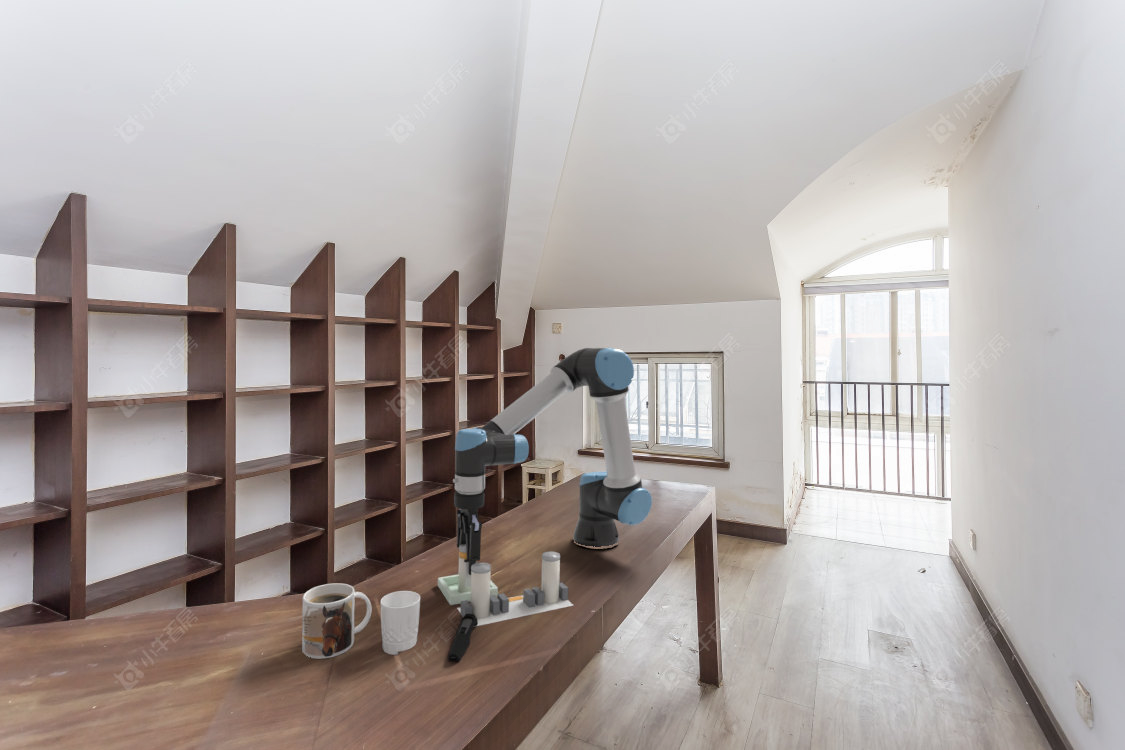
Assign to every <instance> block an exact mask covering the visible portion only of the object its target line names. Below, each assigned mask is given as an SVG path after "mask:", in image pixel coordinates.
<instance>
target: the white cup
mask: <svg viewBox="0 0 1125 750" xmlns="http://www.w3.org/2000/svg"><path fill="white" fill-rule="evenodd" d="M379 601H380V626H381V627H380V628H381V639H382V642H381V643H382V645H381V647H382V650H383V652H384V653H386V654H388V655H391V656H392V655H393V656H398V655H399V652H404V651H407V650H409V649H412V648H413V647H414V646H416V644H417V641H418V632H419V624H420V623H419V622H420V608H421V595H420V594H419V593H418V592H415V591H411V590H400V591H399V590H398V591H393V592H390V593H387V594H386V595H384V596H382V598H381V599H380V600H379Z"/></svg>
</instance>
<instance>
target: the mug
mask: <svg viewBox="0 0 1125 750" xmlns="http://www.w3.org/2000/svg"><path fill="white" fill-rule="evenodd" d="M355 599H362V600H363V601H365V604H366V614H365V616H364V618H363V620H362V621H361V622H360V623H359V624H358V625H357V626H355V603H356V602H355ZM301 613H302V614H301V615H302V623H301V626H302V628H301V629H302V630H301V636H302V637H301V641H302V642H301V651H302V654H303V653H304V654H305V655H306V656H305V655H304V654H303V655H304V656H305V657H307V656H308V657H307V658H310V657H311V658H310V659H318V660H319V659H320V660H322V659H329V658H335V657H336V656H337V657H338V656H340V655H342V654H343V653H345V652H347V651H349V650H350V649H351V648H352V647H353V645H354V642H355V634H357V633H359V632H361V631H363V629H364V628H366V626H367V625H368V623H369V622H370V620H371V615H372V603H371V601H370V599H369V597H368V596H367V595H366V594H365V593H364V592H360V591H355V587H353V585H350V584H347V583H340V582H338V583H337V582H335V583H333V582H332V583H326V584H322V585H317V586H314V587H312V588H310V589H309V590H307V591H306V592H305V593H304V594H303V596H302V612H301Z"/></svg>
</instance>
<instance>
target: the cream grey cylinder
mask: <svg viewBox="0 0 1125 750" xmlns="http://www.w3.org/2000/svg"><path fill="white" fill-rule="evenodd" d="M560 567H561V554H560V553H559V552H556V551H545V552H543V553H542V554H541V579H540V580H541V588H540V589H541V590H542V591H543V592H544V603H547V604H554V603H557V602H558V601H559V583H560V572H561V569H560Z"/></svg>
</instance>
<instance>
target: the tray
mask: <svg viewBox="0 0 1125 750" xmlns="http://www.w3.org/2000/svg"><path fill="white" fill-rule="evenodd" d="M437 587H438V588H439V590H440V591H441V593H442V594H443V596H444V598H445V600H446V601H447V602H448V604H449V606H454V605H461V601H465V600H467V601H468V602H469V603H471V591H470V592H464V593H459V592H458V574H452V575H448V576H447V575H446V576H441V577H438V578H437ZM498 594H499V587H498V586H497V585H496V584H495V583H494V582H493V581H492V579H490V596H491V595H495V596H496V597H497V596H498Z"/></svg>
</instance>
